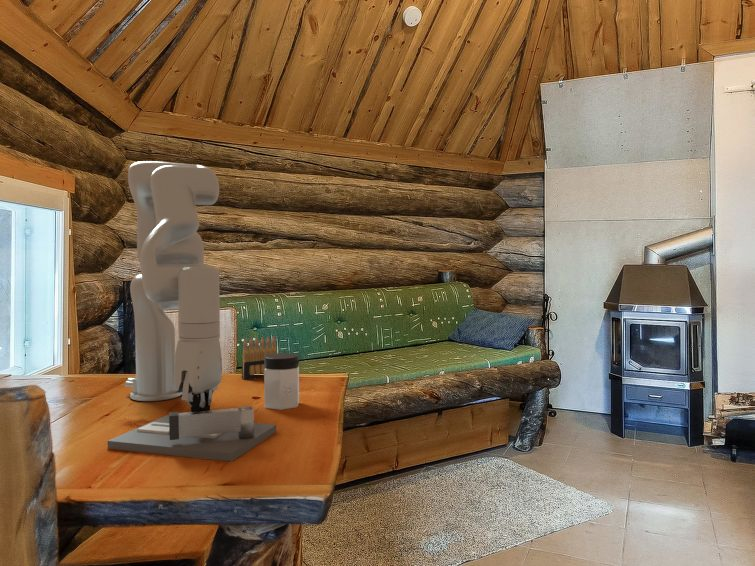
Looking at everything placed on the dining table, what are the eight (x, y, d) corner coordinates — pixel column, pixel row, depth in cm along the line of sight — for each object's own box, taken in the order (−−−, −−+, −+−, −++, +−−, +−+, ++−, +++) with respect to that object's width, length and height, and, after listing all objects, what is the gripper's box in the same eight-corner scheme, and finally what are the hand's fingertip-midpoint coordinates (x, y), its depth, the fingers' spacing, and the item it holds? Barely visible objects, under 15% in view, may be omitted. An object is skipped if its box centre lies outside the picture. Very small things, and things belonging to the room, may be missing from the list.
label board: (107, 448, 113) (107, 437, 112) (166, 422, 130) (166, 412, 130) (231, 461, 105) (231, 449, 105) (276, 432, 123) (276, 421, 123)
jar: (271, 411, 138) (271, 360, 138) (258, 404, 145) (257, 355, 144) (306, 406, 143) (306, 356, 143) (291, 399, 150) (291, 351, 149)
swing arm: (169, 445, 109) (169, 416, 108) (169, 440, 111) (169, 412, 111) (255, 436, 114) (254, 408, 113) (253, 432, 116) (252, 405, 116)
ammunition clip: (243, 380, 173) (243, 338, 172) (241, 378, 174) (241, 337, 174) (278, 375, 179) (277, 335, 178) (275, 374, 180) (275, 335, 180)
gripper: (203, 325, 122) (204, 414, 123) (158, 335, 108) (160, 436, 109) (236, 326, 120) (237, 417, 121) (195, 337, 106) (196, 439, 107)
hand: (200, 425), depth 115 cm, fingers closed
